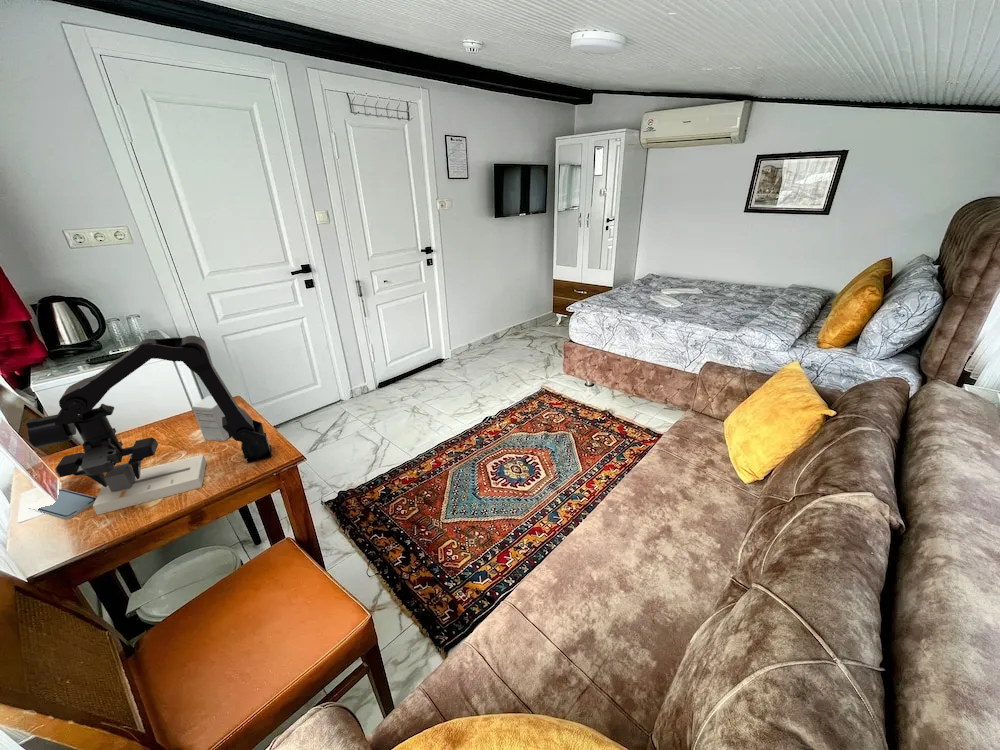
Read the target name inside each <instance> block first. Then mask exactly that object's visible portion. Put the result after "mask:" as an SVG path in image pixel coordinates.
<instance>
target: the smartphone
mask: <svg viewBox="0 0 1000 750" xmlns="http://www.w3.org/2000/svg"><path fill="white" fill-rule="evenodd" d="M58 490H59V495H58V499H57V501H56V502H55V503H54V504H53V505H50V506H45V507H41V508H39V509H38V511H40V512H39V513H42V512H43V513H42V514H45V513H46V515H48V514H49V516H52V517H56V518H58V519H59V518H60V519H64V520H70V519H72V518H73V517H75V516H77V515H78V514H80V513H82V512H83V511H85V510H87V509H89V508H90V507H93V504H94V502H95V500H96V498H97V497H96V496H92V495H88V494H85V493H80V492H76V491H72V490H69V489H64V488H59V489H58ZM38 511H37V512H38Z"/></svg>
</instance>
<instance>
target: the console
mask: <svg viewBox="0 0 1000 750" xmlns="http://www.w3.org/2000/svg"><path fill="white" fill-rule="evenodd" d="M206 467H207V461H206V458H205V455H204V454H200V455H199V454H198V455H195V456H191V457H187V458H182V459H179V460H174V461H170V462H166V463H162V464H157V465H154V466H150V467H145V468H144V467H143V468H141V471H140V478H139V479H137V478H136V477H135V479H134V482H133V484H132V486H131V487H130V488H126V489H122V490H118V491H114V492H111V490H110V488H109V486H107V487H104V486H103V485H101V489H100V490H99V492H98V495H97V498H96V500H95V502H94V504H93V505H92V508H93V509H94V511H95V513H96V514H97V516H98V515H102V514H106V513H110V512H113V511H116V510H122V509H125V508H128V507H132V506H137V505H140V504H144V503H148V502H152V501H155V500H158V499H163V498H166V497H170V496H173V495H178V494H181V493H184V492H188V491H193V490H197V489H201V488H202V487H203V482H204V479H205V478H204V476H205V471H206Z"/></svg>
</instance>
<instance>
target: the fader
mask: <svg viewBox="0 0 1000 750" xmlns="http://www.w3.org/2000/svg"><path fill="white" fill-rule="evenodd" d="M135 477H136V476H135V474H134V471H133V469H132V466H131V465H130V464H128V462H126V463H123V464H118V465H117V464H116V465H114V468H113V469H112V470H111V471H109V472H106V474H105V478H104V479H105V481H106V483H107V485H108V486H109V488H110V490H111V492H114V491H118V490H122V489H126V488H130V487H131V486H132V484H133V482H134V479H135Z"/></svg>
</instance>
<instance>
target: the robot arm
mask: <svg viewBox="0 0 1000 750" xmlns="http://www.w3.org/2000/svg"><path fill="white" fill-rule="evenodd" d="M152 359H157V360H158V359H159V360H164V361H170V362H182V363H183V364H184V365H185V366H186V367H187V368H188V369H189V370H190V371H192V372H194V373H195V374H196V375H197V376H198V377H199V379H200V380H201V382H202V383H203V385H204V386H205V388H206V390H207V391H208V392H209V394H210V396H212V397H213V399H214V400H215V402H216V403H217V405H218V406H219V408H220V409H221V411H222V412H223V414H224V415H225V417H222V427H223V428H224V430H226V431H227V433H228V434H229V438H228V439H231V438H232V440H234V441H236V442H240V443H241V452H242V454H243V457H244V459H246V463H247V464H250V463H253V462H258V461H261V460H265V459H269V458H271V457H272V445H271V444H270V441H269V438H268V435H267V432H265V429H264V426H263V423H262V422H260V421H258V420H255V419H253V418H252V417H251V416H250V415H249V413H248V412H247V411H246V410H244V409H243V408H242V407H240V406H239V405H238V404H237V402H236V400H235V398H234V397H233V395H232V394H231V392H230V390H229V389H228V387H227V386H226V384H225V383H224V381H223V379H222V378H221V376H220V374H219V373H218V371H217V370H216V368H215V367H214V364H213V361H212V358H211V355H210V352H209V349H208V346H207V343H206V341H205V340H204V339H203V338H202V337H200V336H197V335H187V336H184V337H167V338H144V339H143V340H141V341H140V342H139V344H137V345H135V346H134V347H133V348H132V349H130V350H129V351H128V352H126V353H125V354H124V355H122V356H121V357H119V358H117V359H116V360H115V361H114V362H112V363H111V364H109V365H107V367H105V368H104V369H102V370H101V371H99V372H98V373H96V374H94V375H91V376H89V377H87V378H84V379H82V380H80V381H77V382H76V383H75V382H74V383H73V384H71V385H69V386H68V388H66V390H65V391H64V393H63V394H62V396H61V397H60V399H59V401H58V405H59V407H60V410H59V411H58V413H57V414H54V415H53V414H52V415H49V416H43V417H36V418H30V419H28V421H27V422H26V423H25V425H26V427H27V434H28V441H29V443H30V444H31V445H32V447H34V448H38V449H39V448H42V447H46V446H51V445H55V444H59V443H64V442H67V441H71V440H72V439H73V436H74V435H76V434H77V432H78V434H79V435H80V437H81V440H82V441H83V443H82V448H83V452H78V453H73V454H68V455H64V456H62V457H61V459H60V461H59V462H58V463H57V465H56V466H55V468H54V470H55V473H56V474H57V476H58V477H59V478H64V477H68V476H72V475H73V476H74V477H79V476H82V477H83V476H85V477H87V478H90V479H92V480H93V481H94V482H96V483H98V484H100V485H101V486H104V487H107V486H108V485H107V483H106V481H105V479H104V478H105V476H106V474H105V473H107V472H109V471H111V470H112V469H113V468H114V466H117V464H120V463H122V461H123V457H127V456H128V457H130V458H129V460H128V462H127V463H128V464H130V465H131V467H132V469H133V471H134V474H135V476H136V478H137V479H139V478H140V471H141V469H142V461H144V459H147V458H151V457H153V456H154V455H155V454H156V451H157V449H158V446H159V443H158V440H157V439H156V438H153V437H147V438H141V439H138V440H135V442H134V443H133V445H131V446H129V447H124V448H123V447H122V446H123V444H124V443H123V442H122V441H121V440H120V441H119V439H118V437H117V435H116V433H117V430H116V428H115V427H114V428H113V427H112V425H111V423H110V421H109V419H108V416H111V415H113V413H114V411H115V406H113V405H107V404H105V403H101V404H100V406H98V407H96V405H97V404H98V403H99V402H100V401H101V400H102V399H103V398H104V396H106V394H107V393H108V392H109V391H110V390H111V389H112V388H113V387H115V386H116V385H118V384H119V383H120V382H121V381H123V380H124V379H125V378H128V376H130V375H131V374H132V373H134V372H135V371H136V370H138V369H139V368H141V367H142V366H144V365H145V364H146V363H147V362H149V361H150V360H152ZM95 407H96V408H95Z"/></svg>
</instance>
